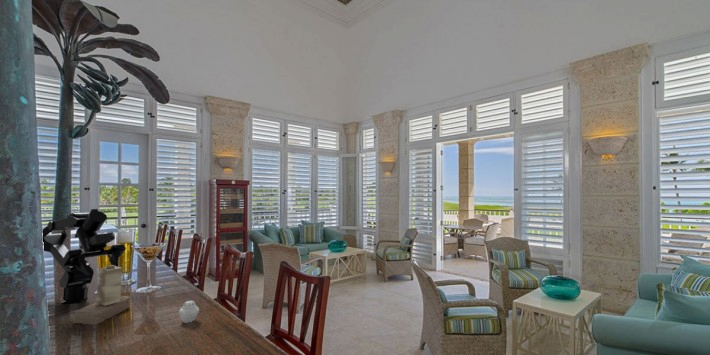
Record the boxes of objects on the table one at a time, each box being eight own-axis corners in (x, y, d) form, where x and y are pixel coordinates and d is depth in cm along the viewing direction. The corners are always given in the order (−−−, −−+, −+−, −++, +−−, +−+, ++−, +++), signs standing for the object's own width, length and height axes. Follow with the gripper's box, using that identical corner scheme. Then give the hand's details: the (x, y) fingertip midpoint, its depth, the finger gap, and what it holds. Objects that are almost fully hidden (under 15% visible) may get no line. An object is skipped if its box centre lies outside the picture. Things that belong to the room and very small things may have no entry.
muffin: (175, 325, 113) (177, 303, 113) (181, 318, 119) (182, 297, 119) (195, 324, 114) (196, 303, 114) (200, 317, 120) (201, 297, 120)
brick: (97, 325, 111) (98, 311, 111) (71, 324, 111) (72, 310, 111) (130, 308, 127) (131, 296, 128) (108, 307, 127) (109, 295, 128)
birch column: (96, 303, 119) (98, 266, 119) (111, 299, 123) (114, 263, 124) (104, 305, 117) (107, 268, 117) (120, 301, 121) (122, 265, 121)
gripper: (68, 227, 119) (83, 263, 113) (124, 223, 135) (139, 254, 130) (55, 247, 122) (69, 283, 117) (112, 241, 139) (126, 272, 133)
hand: (103, 272), depth 124 cm, fingers open, 9 cm apart
